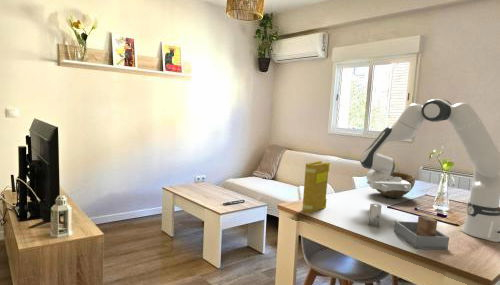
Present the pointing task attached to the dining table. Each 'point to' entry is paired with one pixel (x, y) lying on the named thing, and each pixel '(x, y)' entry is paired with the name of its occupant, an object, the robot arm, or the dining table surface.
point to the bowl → (399, 193)
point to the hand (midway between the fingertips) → (397, 189)
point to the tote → (424, 242)
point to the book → (315, 186)
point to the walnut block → (426, 226)
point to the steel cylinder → (374, 215)
